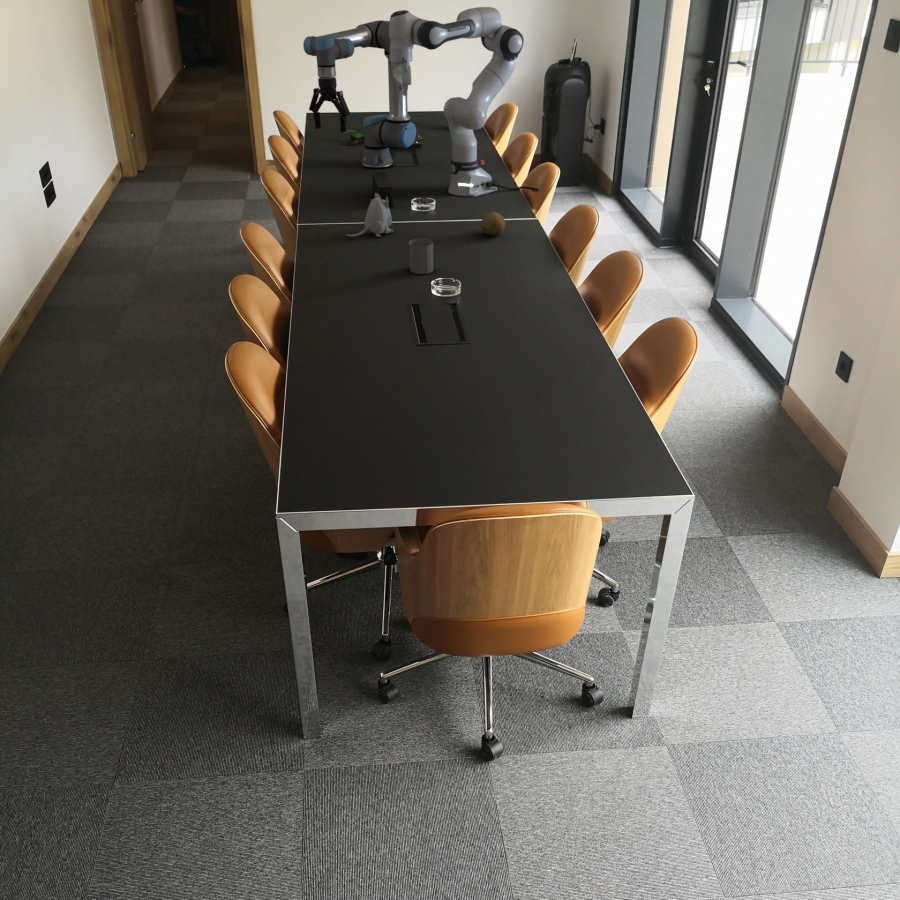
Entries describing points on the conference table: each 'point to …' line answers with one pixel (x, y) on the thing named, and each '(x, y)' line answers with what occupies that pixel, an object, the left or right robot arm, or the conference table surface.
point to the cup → (421, 256)
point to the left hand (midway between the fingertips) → (330, 130)
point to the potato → (492, 223)
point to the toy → (377, 217)
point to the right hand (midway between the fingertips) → (402, 93)
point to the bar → (382, 186)
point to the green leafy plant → (355, 137)
